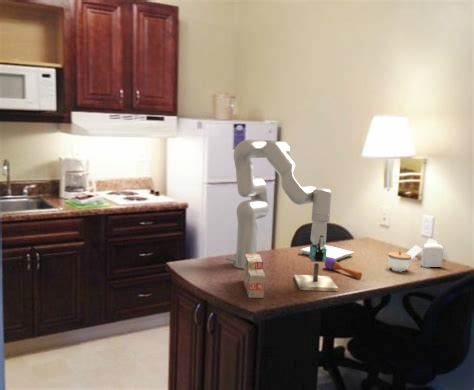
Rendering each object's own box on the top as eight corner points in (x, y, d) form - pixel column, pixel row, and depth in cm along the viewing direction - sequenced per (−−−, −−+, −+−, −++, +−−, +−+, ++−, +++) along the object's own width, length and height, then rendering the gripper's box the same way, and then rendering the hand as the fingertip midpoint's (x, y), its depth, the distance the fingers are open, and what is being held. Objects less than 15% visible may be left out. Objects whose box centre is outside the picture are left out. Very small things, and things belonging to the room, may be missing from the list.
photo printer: (422, 267, 254) (425, 244, 252) (419, 265, 258) (422, 242, 256) (442, 268, 253) (445, 245, 252) (439, 266, 258) (442, 243, 256)
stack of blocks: (264, 298, 196) (266, 268, 195) (248, 298, 196) (250, 267, 194) (257, 281, 217) (259, 253, 216) (243, 280, 217) (244, 253, 215)
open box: (311, 261, 212) (312, 248, 211) (309, 257, 218) (310, 244, 217) (325, 262, 212) (326, 248, 212) (322, 258, 218) (323, 245, 218)
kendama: (355, 272, 226) (322, 258, 240) (355, 283, 228) (321, 269, 242) (363, 268, 229) (330, 254, 244) (363, 279, 231) (330, 265, 246)
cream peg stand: (299, 289, 209) (301, 267, 207) (293, 277, 224) (295, 257, 223) (337, 291, 209) (339, 269, 208) (329, 279, 225) (330, 258, 224)
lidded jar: (382, 266, 251) (384, 248, 249) (402, 266, 253) (404, 248, 252) (393, 273, 240) (395, 254, 239) (413, 273, 243) (416, 254, 241)
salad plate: (354, 257, 267) (354, 251, 267) (334, 264, 251) (334, 257, 251) (320, 249, 281) (320, 243, 280) (299, 255, 265) (299, 249, 265)
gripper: (308, 213, 221) (305, 253, 224) (315, 221, 204) (312, 264, 207) (324, 214, 221) (321, 253, 224) (333, 222, 204) (330, 264, 207)
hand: (317, 258), depth 215 cm, fingers closed on open box, 5 cm apart
